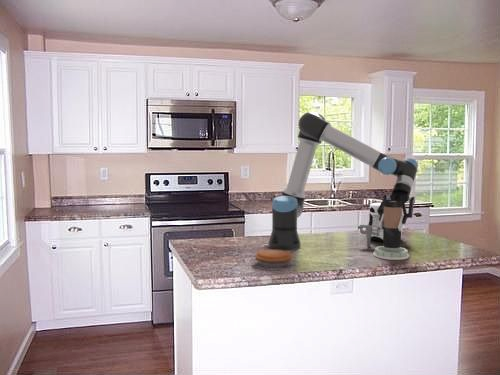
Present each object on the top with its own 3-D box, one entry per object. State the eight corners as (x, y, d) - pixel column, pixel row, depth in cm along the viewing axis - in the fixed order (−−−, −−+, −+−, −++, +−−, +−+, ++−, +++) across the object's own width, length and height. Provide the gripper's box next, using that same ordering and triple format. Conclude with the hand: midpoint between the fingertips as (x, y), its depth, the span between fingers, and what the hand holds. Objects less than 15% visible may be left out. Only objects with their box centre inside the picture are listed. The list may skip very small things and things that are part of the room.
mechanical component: (380, 247, 218) (380, 226, 217) (357, 246, 220) (358, 225, 219) (379, 246, 221) (380, 225, 220) (357, 245, 223) (358, 224, 222)
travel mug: (404, 247, 200) (406, 201, 198) (390, 249, 197) (391, 202, 195) (393, 243, 207) (394, 199, 205) (379, 245, 204) (380, 200, 202)
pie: (258, 258, 198) (258, 246, 198) (294, 260, 195) (294, 248, 195) (251, 267, 183) (251, 255, 182) (290, 270, 180) (290, 257, 180)
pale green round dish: (378, 260, 195) (378, 253, 195) (369, 251, 210) (369, 245, 210) (414, 259, 195) (414, 253, 195) (402, 251, 210) (402, 245, 210)
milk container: (399, 237, 243) (400, 202, 241) (405, 244, 226) (406, 207, 224) (365, 236, 245) (366, 202, 243) (368, 243, 228) (369, 206, 226)
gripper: (427, 194, 206) (415, 236, 195) (382, 191, 218) (369, 230, 207) (424, 183, 202) (412, 225, 190) (378, 181, 213) (364, 220, 202)
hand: (389, 228), depth 198 cm, fingers closed on travel mug, 7 cm apart
